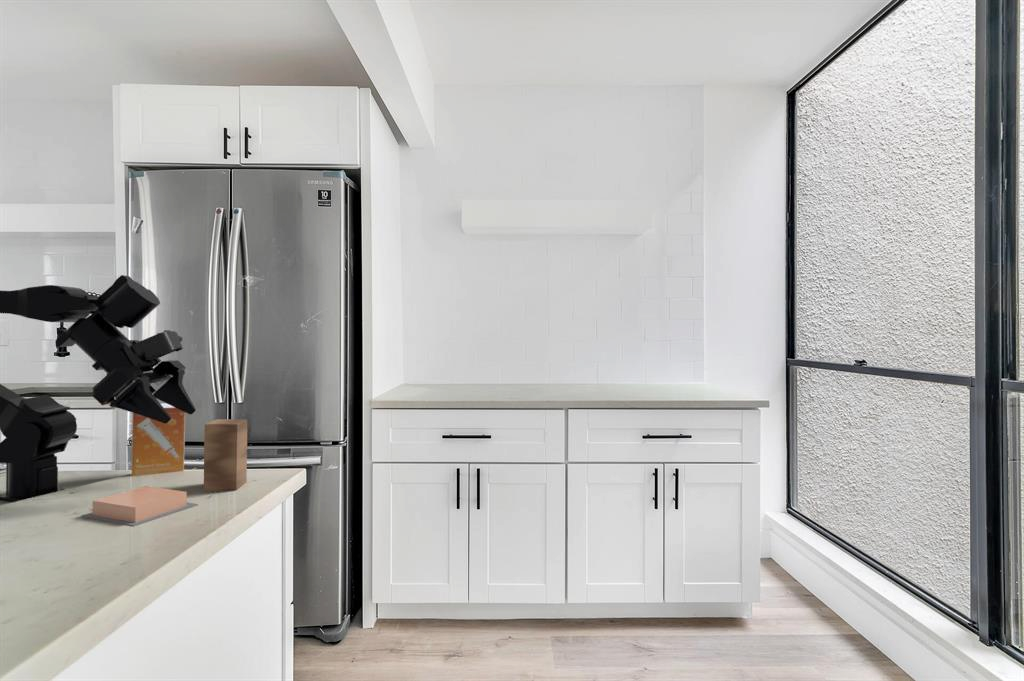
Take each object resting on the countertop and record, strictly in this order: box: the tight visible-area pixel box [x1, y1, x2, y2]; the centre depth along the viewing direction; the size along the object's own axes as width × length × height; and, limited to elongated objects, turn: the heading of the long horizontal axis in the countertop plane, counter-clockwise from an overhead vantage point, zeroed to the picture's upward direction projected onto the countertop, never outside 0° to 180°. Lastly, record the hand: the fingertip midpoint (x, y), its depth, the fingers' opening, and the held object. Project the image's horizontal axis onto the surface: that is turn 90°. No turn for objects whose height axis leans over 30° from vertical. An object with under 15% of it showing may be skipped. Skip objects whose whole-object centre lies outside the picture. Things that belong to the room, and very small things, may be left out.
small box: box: [131, 402, 186, 477], centre depth 105 cm, size 8×6×13 cm
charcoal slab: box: [81, 502, 199, 527], centre depth 82 cm, size 10×10×2 cm
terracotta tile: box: [92, 485, 188, 522], centre depth 82 cm, size 8×8×2 cm
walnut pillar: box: [203, 418, 248, 492], centre depth 95 cm, size 5×5×12 cm
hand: (181, 416), depth 94 cm, fingers open, 9 cm apart
